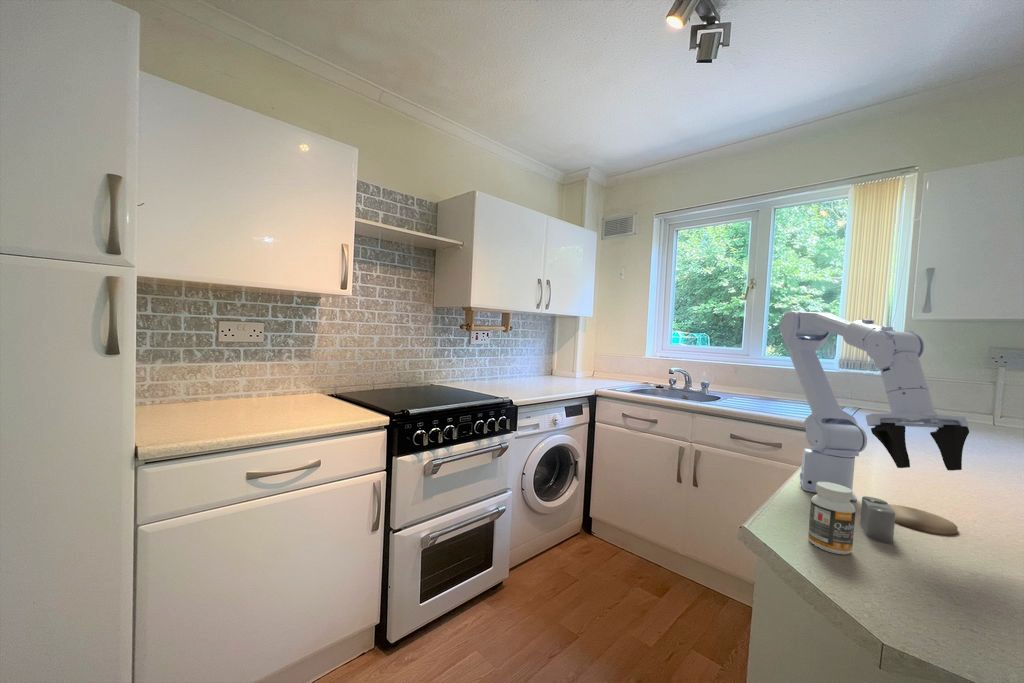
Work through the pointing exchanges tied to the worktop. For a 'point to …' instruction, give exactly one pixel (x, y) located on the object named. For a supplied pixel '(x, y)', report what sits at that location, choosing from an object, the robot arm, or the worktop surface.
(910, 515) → the walnut coaster
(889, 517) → the grey connector plug
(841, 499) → the pill bottle
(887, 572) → the worktop surface
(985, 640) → the worktop surface
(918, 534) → the worktop surface
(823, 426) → the robot arm
